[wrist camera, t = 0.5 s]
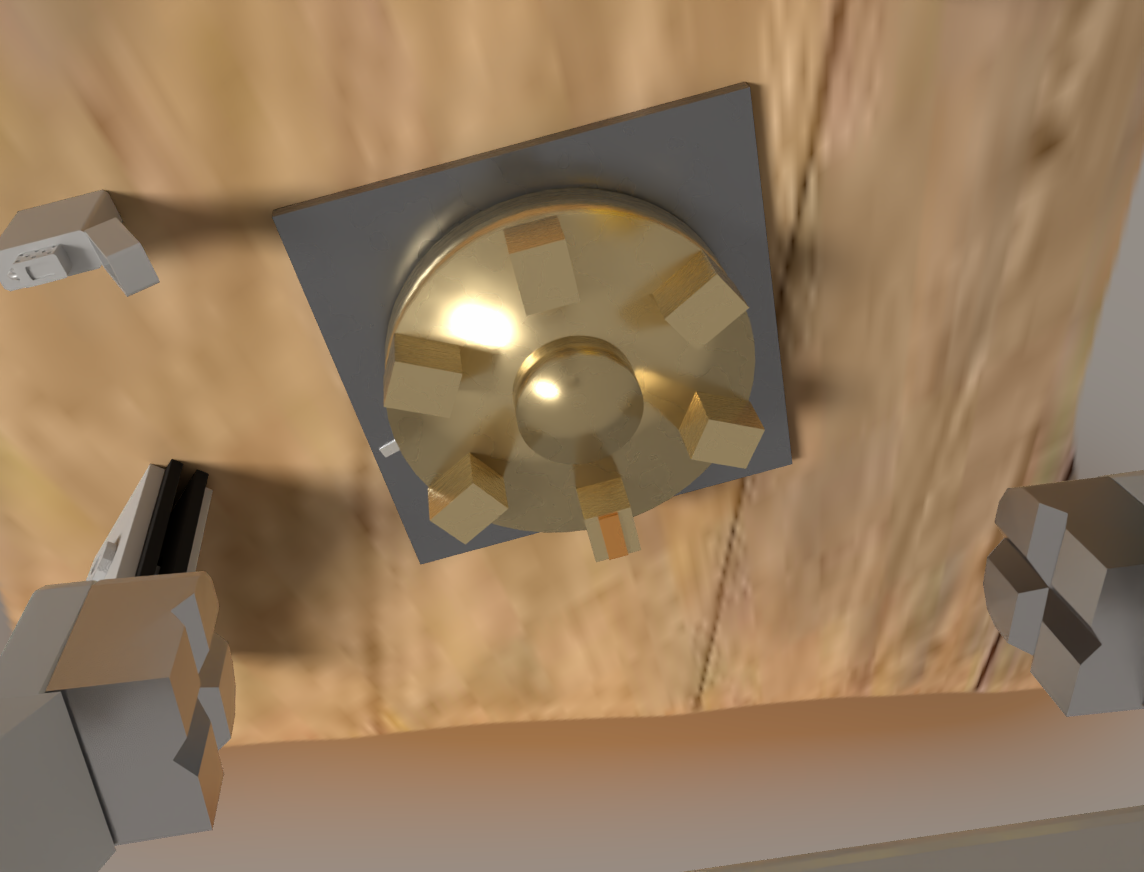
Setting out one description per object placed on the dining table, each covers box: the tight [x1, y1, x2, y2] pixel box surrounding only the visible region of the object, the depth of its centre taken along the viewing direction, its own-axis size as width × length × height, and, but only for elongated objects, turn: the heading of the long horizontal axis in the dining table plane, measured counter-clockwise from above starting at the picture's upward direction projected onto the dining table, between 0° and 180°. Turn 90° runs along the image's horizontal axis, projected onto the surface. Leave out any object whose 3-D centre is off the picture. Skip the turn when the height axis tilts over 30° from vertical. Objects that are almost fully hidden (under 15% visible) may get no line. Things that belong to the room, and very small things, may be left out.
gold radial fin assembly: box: [383, 188, 765, 562], centre depth 50 cm, size 18×18×6 cm
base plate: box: [272, 82, 792, 564], centre depth 52 cm, size 22×22×1 cm
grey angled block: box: [0, 190, 160, 297], centre depth 42 cm, size 7×2×8 cm, turn 102°
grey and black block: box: [86, 459, 213, 581], centre depth 52 cm, size 14×5×10 cm, turn 157°
